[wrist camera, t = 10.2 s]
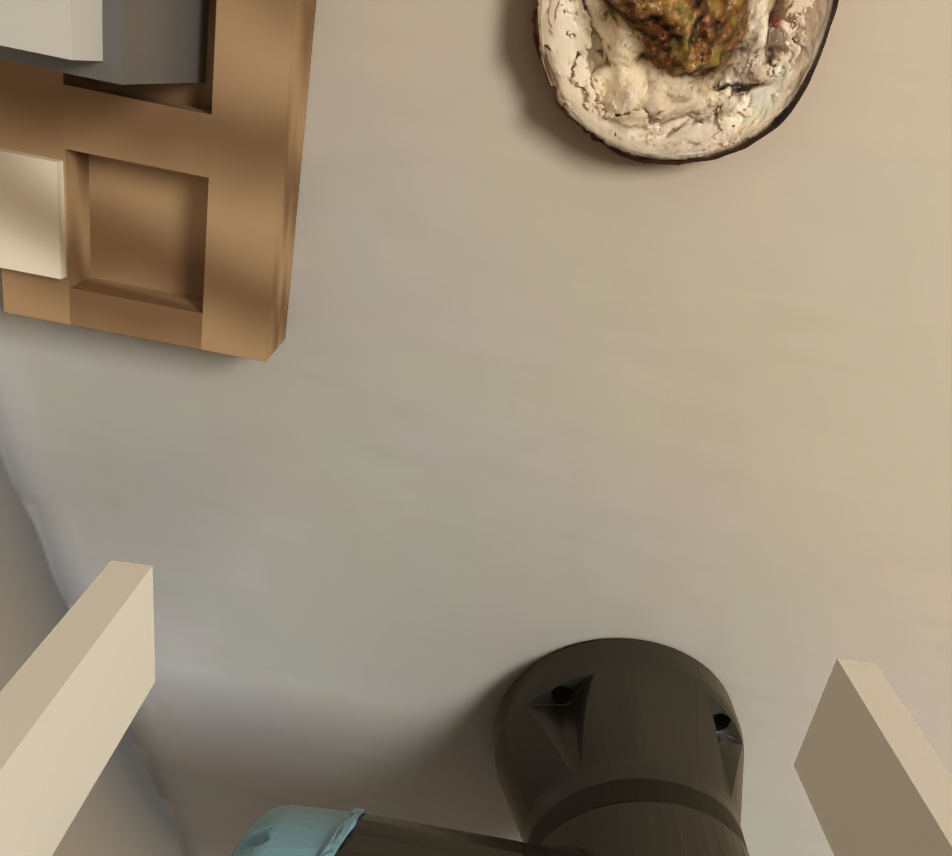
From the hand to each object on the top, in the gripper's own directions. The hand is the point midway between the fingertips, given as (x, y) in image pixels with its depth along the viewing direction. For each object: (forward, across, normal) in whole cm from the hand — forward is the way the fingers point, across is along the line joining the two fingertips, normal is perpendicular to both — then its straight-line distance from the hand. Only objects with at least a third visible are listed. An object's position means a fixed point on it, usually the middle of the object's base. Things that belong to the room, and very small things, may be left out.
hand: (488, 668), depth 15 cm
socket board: (+25, +16, -7) cm, 31 cm away
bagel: (+26, -6, -15) cm, 30 cm away
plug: (+24, +16, -11) cm, 31 cm away
